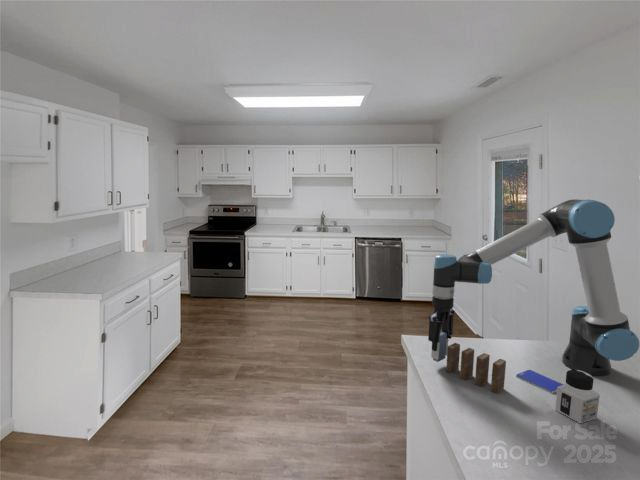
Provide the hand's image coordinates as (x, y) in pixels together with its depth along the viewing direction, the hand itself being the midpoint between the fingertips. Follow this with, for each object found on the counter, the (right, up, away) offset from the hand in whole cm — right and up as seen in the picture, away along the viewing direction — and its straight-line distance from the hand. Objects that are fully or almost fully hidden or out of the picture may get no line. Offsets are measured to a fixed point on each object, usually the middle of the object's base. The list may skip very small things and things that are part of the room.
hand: (439, 356), depth 139 cm
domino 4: (+14, -6, -16) cm, 22 cm away
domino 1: (+4, -4, -4) cm, 7 cm away
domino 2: (+7, -5, -8) cm, 12 cm away
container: (+31, -8, -29) cm, 44 cm away
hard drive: (+32, -6, -11) cm, 34 cm away
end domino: (0, -1, 0) cm, 1 cm away
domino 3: (+11, -6, -12) cm, 17 cm away
